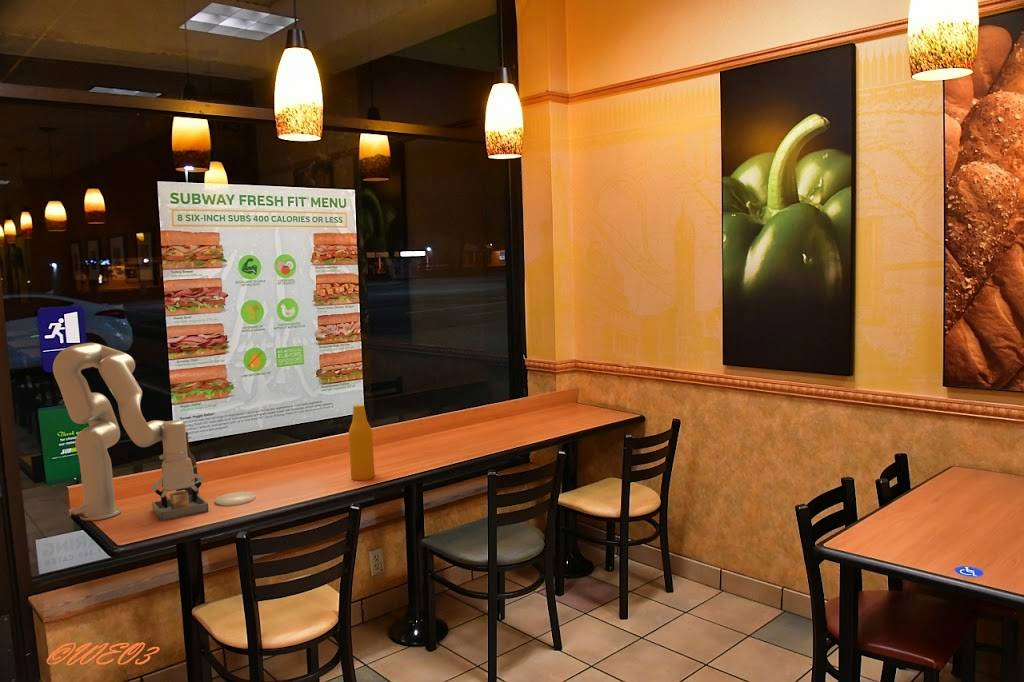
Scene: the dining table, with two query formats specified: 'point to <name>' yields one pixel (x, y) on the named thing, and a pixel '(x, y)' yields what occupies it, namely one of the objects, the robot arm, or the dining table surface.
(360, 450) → the beer bottle
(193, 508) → the gray bin
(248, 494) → the off-white plate
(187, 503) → the birch block
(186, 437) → the beer bottle
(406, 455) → the dining table surface
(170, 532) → the dining table surface
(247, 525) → the dining table surface
